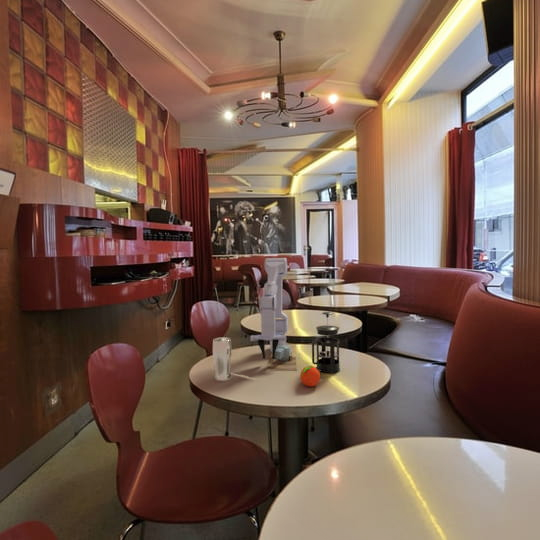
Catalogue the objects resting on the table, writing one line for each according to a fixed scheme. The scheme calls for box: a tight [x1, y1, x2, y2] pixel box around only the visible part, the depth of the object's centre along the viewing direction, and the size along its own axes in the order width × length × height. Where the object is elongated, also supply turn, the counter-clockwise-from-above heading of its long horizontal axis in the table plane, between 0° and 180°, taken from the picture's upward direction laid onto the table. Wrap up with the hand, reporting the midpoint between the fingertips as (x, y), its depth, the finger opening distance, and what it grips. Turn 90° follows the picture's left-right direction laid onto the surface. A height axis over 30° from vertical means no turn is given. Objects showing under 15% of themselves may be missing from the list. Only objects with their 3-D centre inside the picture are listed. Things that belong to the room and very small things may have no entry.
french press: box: [311, 311, 341, 375], centre depth 143 cm, size 12×9×23 cm
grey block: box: [275, 345, 291, 361], centre depth 153 cm, size 5×10×5 cm, turn 155°
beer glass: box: [212, 336, 232, 382], centre depth 136 cm, size 7×7×15 cm
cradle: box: [265, 352, 298, 372], centre depth 151 cm, size 18×12×3 cm, turn 177°
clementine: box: [299, 365, 321, 387], centre depth 127 cm, size 8×7×7 cm
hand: (268, 358), depth 149 cm, fingers open, 3 cm apart
